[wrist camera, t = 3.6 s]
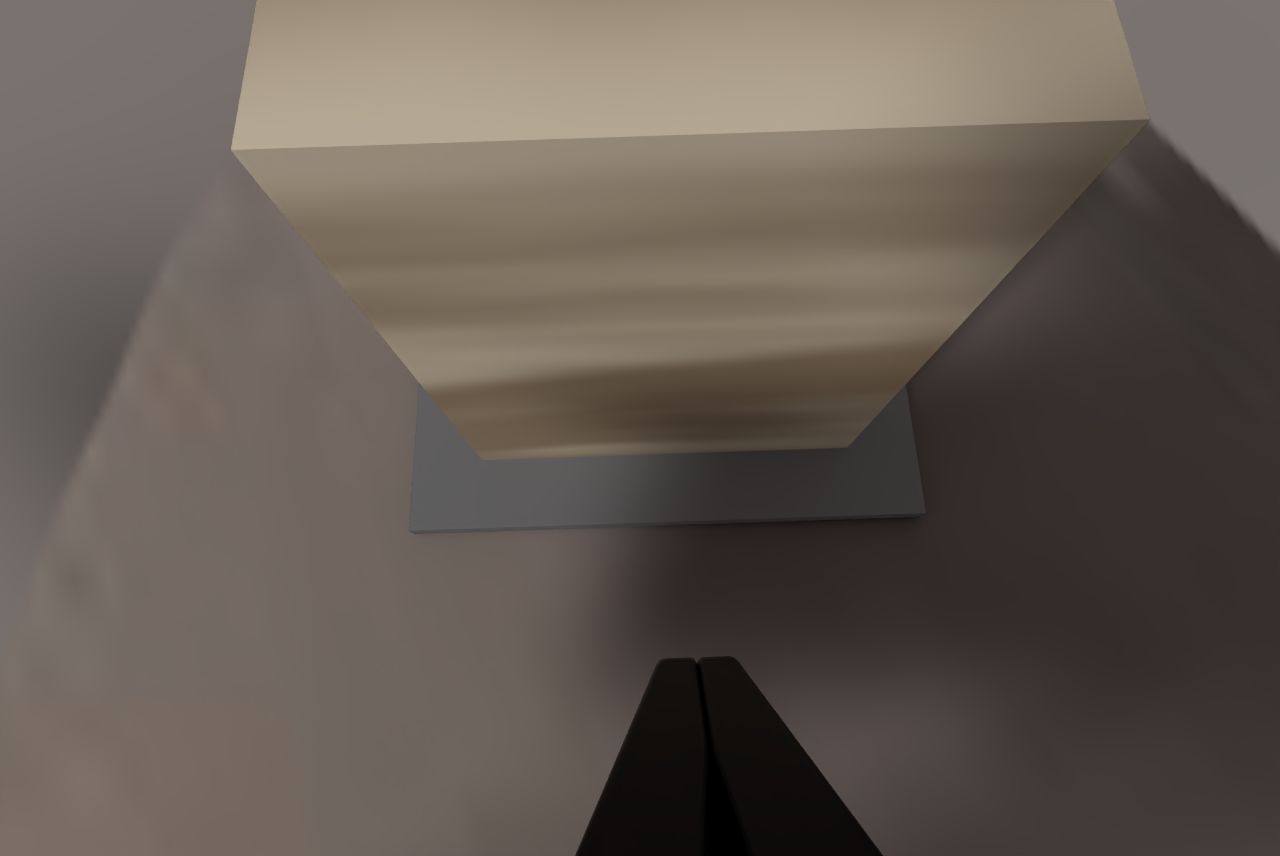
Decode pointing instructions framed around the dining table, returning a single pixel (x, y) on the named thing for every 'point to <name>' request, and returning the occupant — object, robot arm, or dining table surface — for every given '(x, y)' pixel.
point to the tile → (676, 196)
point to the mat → (662, 482)
